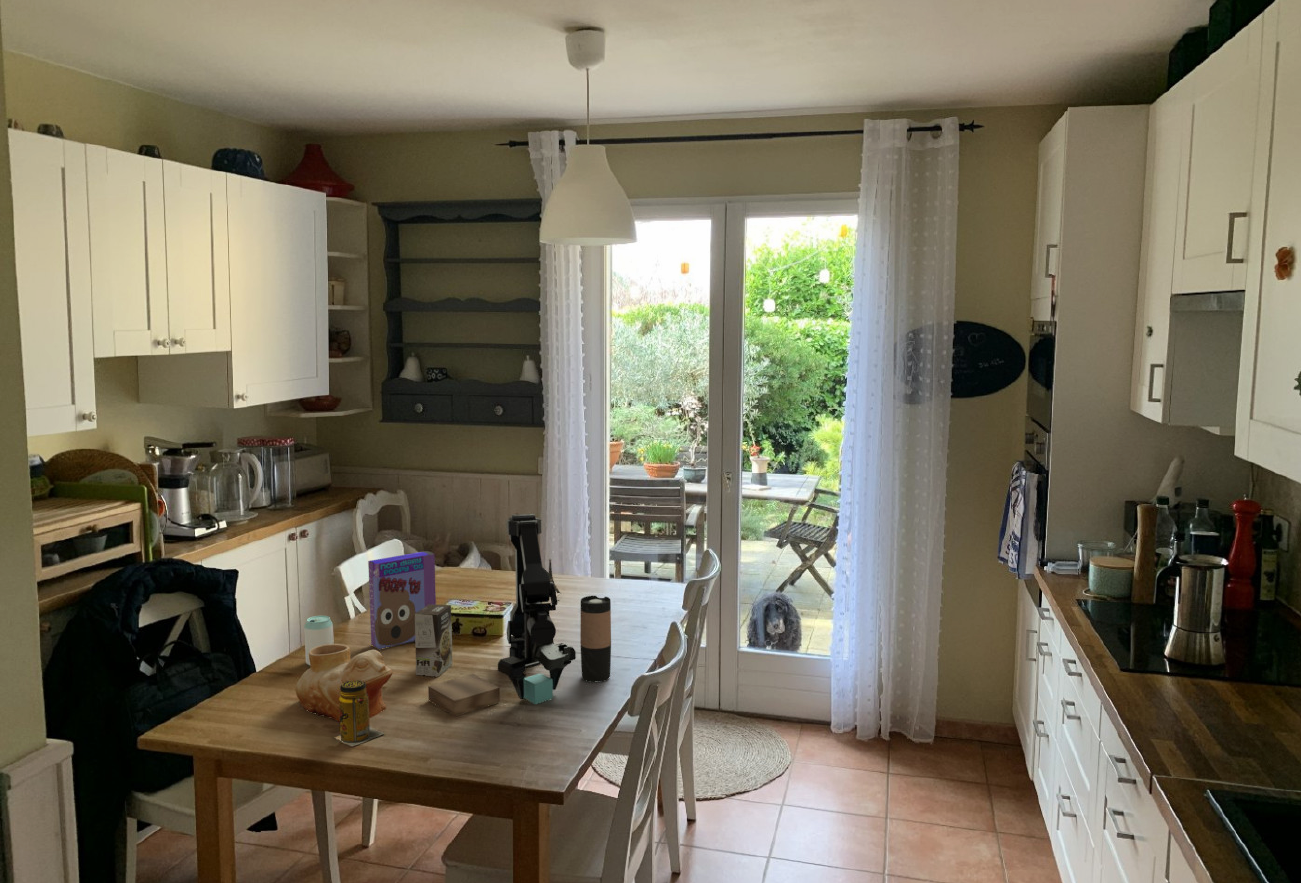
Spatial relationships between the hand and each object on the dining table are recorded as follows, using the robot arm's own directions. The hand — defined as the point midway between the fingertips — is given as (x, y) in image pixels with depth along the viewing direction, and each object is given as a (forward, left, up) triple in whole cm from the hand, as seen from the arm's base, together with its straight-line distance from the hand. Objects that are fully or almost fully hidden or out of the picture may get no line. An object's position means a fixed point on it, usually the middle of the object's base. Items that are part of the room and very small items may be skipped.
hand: (537, 694), depth 232 cm
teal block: (0, 0, -1) cm, 1 cm away
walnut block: (+14, -10, -2) cm, 17 cm away
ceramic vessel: (+37, -24, -1) cm, 44 cm away
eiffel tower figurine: (-53, -71, -2) cm, 89 cm away
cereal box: (+4, -59, -1) cm, 59 cm away
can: (+29, -57, -1) cm, 64 cm away
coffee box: (+9, -33, -1) cm, 34 cm away
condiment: (+41, -8, -1) cm, 42 cm away
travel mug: (-19, -2, -1) cm, 19 cm away
